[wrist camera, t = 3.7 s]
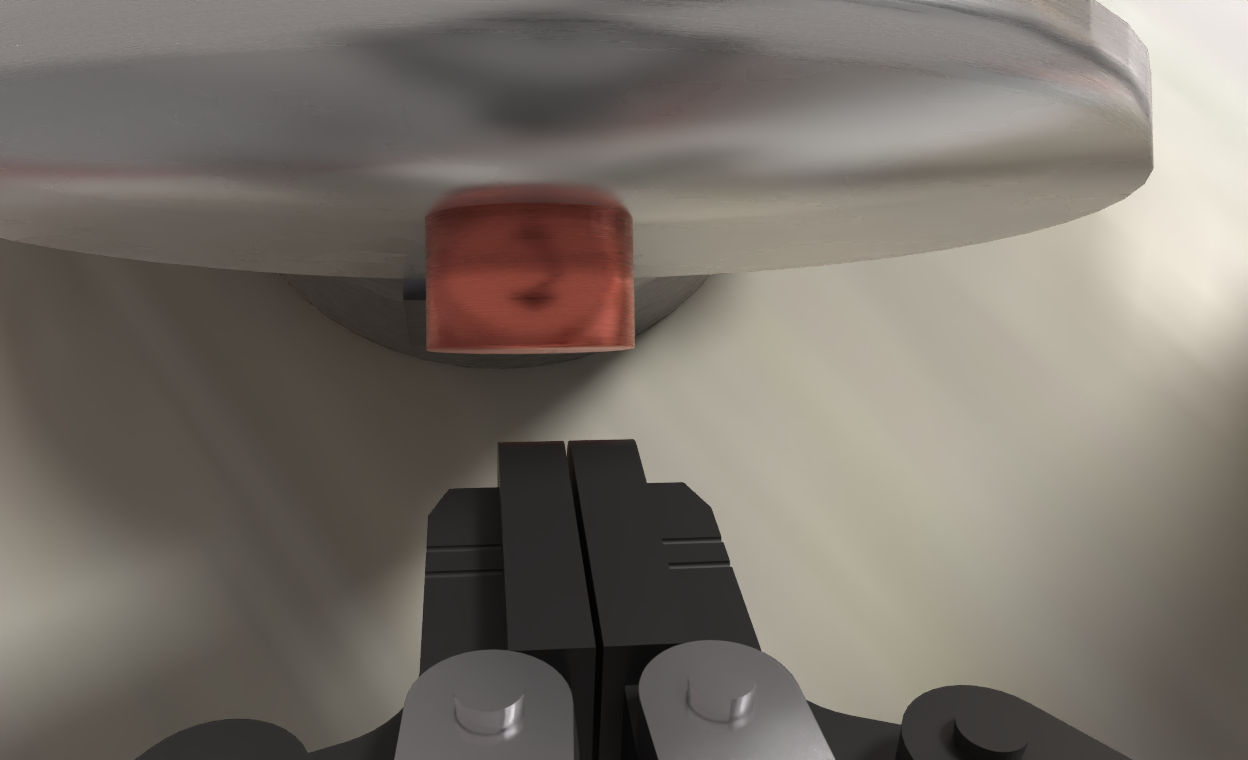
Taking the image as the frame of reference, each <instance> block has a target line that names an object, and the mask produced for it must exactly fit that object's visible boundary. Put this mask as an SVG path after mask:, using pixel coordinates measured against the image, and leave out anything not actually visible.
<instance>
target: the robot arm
mask: <svg viewBox="0 0 1248 760" xmlns="http://www.w3.org/2000/svg"><path fill="white" fill-rule="evenodd" d="M497 469H498V487H495V488H456V489H449V490H448V491H447V493H446V494H445V495H444V496H443V498H442V499H441V500H440V501H439V503H438V504H437V505H436V507H435V508H434V509H433V510H432V512H431V513H430V514H429V515H428V530H427V552H426V567H425V585H424V604H423V622H422V640H421V659H420V674H419V678H418V679H417V680H416V681H415V682H414V684H413V685H412V687H411V688H410V690H409V692H408V694H407V697H406V700H405V703H404V707H403V708H402V709H401V710H400V712H399V713H398V714H396V715H395V716H394V717H393V718H391V719H390V720H389V721H388V722H386V723H385V724H383V725H382V726H380V727H378V728H377V729H375V730H374V731H371V732H369V733H367V734H365V735H363V736H361V737H359V738H356V739H353V740H350V741H347V742H345V743H341V744H338V745H335V746H331V747H328V748H325V749H321V750H318V751H315V752H311V753H307V751H306V749H305V747H304V746H303V744H302V743H301V742H300V741H299V740H298V739H297V738H296V737H295V736H294V735H293V734H291V733H290V732H288V731H287V730H285V729H283V728H281V727H279V726H276V725H274V724H271V723H267V722H263V721H259V720H250V719H226V720H219V721H212V722H208V723H204V724H200V725H196V726H193V727H190V728H188V729H185V730H182V731H180V732H178V733H176V734H174V735H172V736H170V737H168V738H166V739H164V740H163V741H161V742H160V743H158V744H156V745H155V746H153V747H152V748H150V749H149V750H148V751H146V752H145V753H143V754H142V755H141V756H139V757H138V758H137V759H135V760H1132V759H1130V758H1128V757H1126V756H1124V755H1122V754H1121V753H1119V752H1117V751H1115V750H1113V749H1112V748H1110V747H1108V746H1106V745H1104V744H1103V743H1101V742H1099V741H1097V740H1095V739H1093V738H1092V737H1090V736H1088V735H1086V734H1084V733H1083V732H1081V731H1079V730H1077V729H1075V728H1073V727H1072V726H1070V725H1068V724H1066V723H1064V722H1063V721H1061V720H1059V719H1057V718H1055V717H1053V716H1052V715H1050V714H1048V713H1046V712H1044V711H1043V710H1041V709H1039V708H1037V707H1035V706H1033V705H1032V704H1030V703H1028V702H1026V701H1024V700H1022V699H1020V698H1018V697H1015V696H1013V695H1010V694H1007V693H1004V692H1002V691H998V690H994V689H990V688H985V687H979V686H969V685H955V686H945V687H941V688H937V689H933V690H931V691H928V692H926V693H923V694H922V695H920V696H919V697H917V698H916V699H915V700H914V701H913V702H912V703H911V704H910V705H909V706H908V707H907V709H906V711H905V713H904V715H903V720H902V725H899V724H894V723H888V722H883V721H878V720H872V719H867V718H862V717H856V716H851V715H847V714H843V713H838V712H835V711H832V710H829V709H826V708H823V707H820V706H818V705H816V704H814V703H812V702H810V701H807V700H806V699H805V697H804V695H803V693H802V691H801V689H800V687H799V685H798V683H797V682H796V680H795V678H794V677H793V675H792V674H791V673H790V672H789V671H788V670H787V669H786V668H785V666H783V665H782V664H781V663H779V662H778V661H777V660H776V659H774V658H773V657H771V656H769V655H767V654H766V653H764V652H762V651H761V648H760V645H759V642H758V640H757V637H756V634H755V631H754V628H753V625H752V623H751V620H750V617H749V614H748V611H747V608H746V605H745V603H744V600H743V597H742V594H741V591H740V588H739V586H738V583H737V580H736V577H735V574H734V571H733V568H732V567H730V560H729V557H728V554H727V551H726V549H725V546H724V543H723V542H721V534H720V531H719V529H718V526H717V523H716V520H715V517H714V514H713V511H712V509H711V507H710V506H709V505H708V504H707V503H706V502H705V501H703V500H702V499H701V498H700V497H699V496H698V495H697V494H696V493H695V492H693V491H692V490H691V489H690V488H689V487H688V486H687V485H686V484H685V483H683V482H678V483H647V482H646V478H645V475H644V471H643V467H642V463H641V460H640V456H639V452H638V448H637V445H636V442H635V440H634V439H627V440H579V441H569V442H568V446H567V457H566V450H565V444H564V441H543V442H498V452H497Z"/></svg>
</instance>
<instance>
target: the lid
mask: <svg viewBox="0 0 1248 760" xmlns="http://www.w3.org/2000/svg"><path fill="white" fill-rule="evenodd" d="M1152 170H1153V126H1152V85H1151V69H1150V62H1149V56H1148V49H1147V48H1146V46H1145V45H1144V44H1143V43H1142V41H1141V40H1140V39H1139V37H1138V36H1137V35H1136V33H1135V32H1134V31H1133V29H1132V28H1131V27H1130V25H1129V24H1128V23H1127V22H1125V21H1124V20H1122V19H1121V18H1120V17H1118V16H1117V15H1115V14H1114V13H1112V12H1111V11H1110V10H1108V9H1107V8H1105V7H1104V6H1102V5H1101V4H1100V3H1098V2H1097V1H1095V0H0V238H2V239H7V240H12V241H17V242H23V243H28V244H33V245H39V246H44V247H49V248H55V249H62V250H68V251H75V252H81V253H88V254H95V255H101V256H109V257H117V258H125V259H133V260H141V261H149V262H158V263H167V264H177V265H187V266H197V267H207V268H219V269H232V270H244V271H256V272H271V273H287V274H302V275H321V276H342V277H365V278H395V279H426V344H427V351H431V352H443V353H470V354H543V353H581V352H603V351H618V350H628V349H633V348H635V319H634V278H642V277H667V276H686V275H706V274H721V273H736V272H751V271H764V270H776V269H788V268H800V267H811V266H820V265H830V264H840V263H849V262H858V261H866V260H874V259H882V258H890V257H898V256H905V255H912V254H918V253H925V252H932V251H938V250H945V249H950V248H956V247H962V246H967V245H973V244H978V243H984V242H989V241H993V240H998V239H1003V238H1007V237H1012V236H1016V235H1021V234H1025V233H1030V232H1033V231H1037V230H1041V229H1044V228H1048V227H1052V226H1055V225H1059V224H1063V223H1066V222H1069V221H1072V220H1075V219H1077V218H1080V217H1083V216H1086V215H1089V214H1092V213H1095V212H1098V211H1100V210H1102V209H1104V208H1106V207H1108V206H1110V205H1112V204H1114V203H1117V202H1119V201H1121V200H1123V199H1125V198H1126V197H1128V196H1129V195H1130V194H1132V193H1133V192H1134V191H1136V190H1137V189H1138V188H1140V187H1141V186H1142V185H1144V184H1145V182H1146V180H1147V179H1148V177H1149V175H1150V173H1151V172H1152Z"/></svg>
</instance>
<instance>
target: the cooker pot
mask: <svg viewBox="0 0 1248 760" xmlns="http://www.w3.org/2000/svg"><path fill="white" fill-rule="evenodd" d="M279 274H280V275H281V276H282V277H283V278H284V279H285V280H286V281H287V282H288V283H289V284H290V286H291V287H292V288H293V289H294V290H295V291H296V292H297V293H299V294H300V295H301V296H302V297H303V298H305V299H306V300H307V301H308V302H310V303H311V304H312V305H313V306H315V307H316V308H317V309H318V310H320V311H321V312H322V313H323V314H325V315H326V316H328V317H329V318H331V319H333V320H334V321H336V322H338V323H339V324H341V325H343V326H344V327H346V328H347V329H349V330H351V331H352V332H354V333H356V334H358V335H360V336H362V337H364V338H367V339H369V340H371V341H373V342H376V343H378V344H380V345H382V346H385V347H387V348H389V349H392V350H395V351H398V352H401V353H405V354H408V355H411V356H415V357H418V358H421V359H424V360H428V361H434V362H440V363H446V364H451V365H457V366H463V367H479V368H499V369H505V368H518V367H532V366H542V365H547V364H552V363H557V362H562V361H567V360H572V359H577V358H580V357H583V356H586V355H589V354H592V353H595V352H581V353H543V354H470V353H443V352H431V351H427V344H426V279H395V278H365V277H342V276H321V275H302V274H287V273H279ZM709 275H710V274H706V275H686V276H667V277H642V278H634V319H635V335H637V334H639V333H641V332H643V331H644V330H646V329H647V328H649V327H650V326H652V325H653V324H655V323H656V322H658V321H659V320H661V319H662V318H664V317H665V316H667V315H668V314H670V313H671V312H673V311H674V310H675V309H676V308H677V307H678V306H679V305H680V304H682V303H683V302H684V301H685V300H686V299H687V298H688V297H690V296H691V295H692V294H693V293H694V292H695V291H696V290H697V289H698V288H699V287H700V286H701V284H702V283H703V282H704V281H705V280H706V279H707V277H708V276H709Z"/></svg>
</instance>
